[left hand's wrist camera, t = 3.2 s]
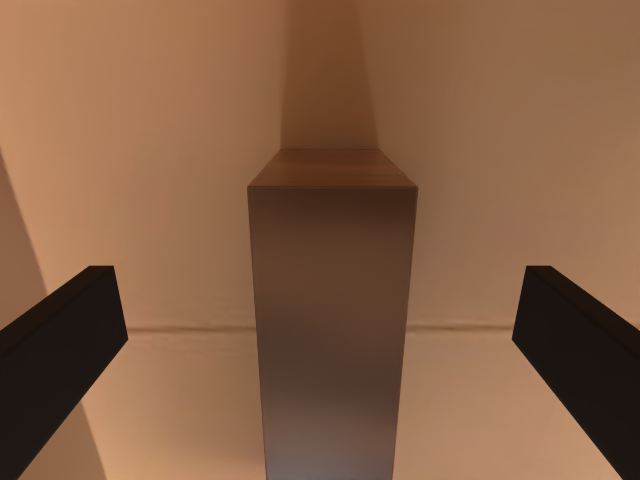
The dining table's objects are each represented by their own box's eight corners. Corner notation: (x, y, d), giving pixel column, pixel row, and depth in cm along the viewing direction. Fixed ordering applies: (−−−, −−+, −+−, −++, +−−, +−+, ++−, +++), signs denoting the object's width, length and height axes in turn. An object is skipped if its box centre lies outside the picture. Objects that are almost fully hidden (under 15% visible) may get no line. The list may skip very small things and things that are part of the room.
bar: (280, 149, 21) (246, 186, 12) (379, 149, 21) (418, 186, 12) (290, 467, 29) (275, 628, 20) (363, 468, 29) (379, 630, 20)
